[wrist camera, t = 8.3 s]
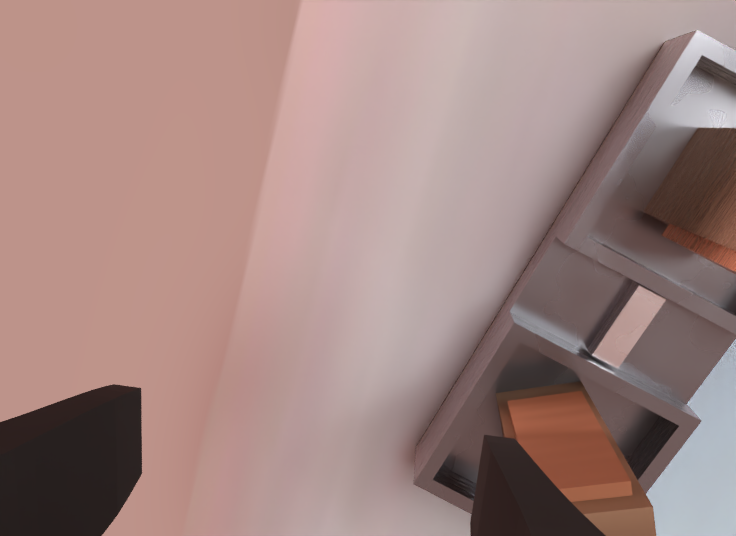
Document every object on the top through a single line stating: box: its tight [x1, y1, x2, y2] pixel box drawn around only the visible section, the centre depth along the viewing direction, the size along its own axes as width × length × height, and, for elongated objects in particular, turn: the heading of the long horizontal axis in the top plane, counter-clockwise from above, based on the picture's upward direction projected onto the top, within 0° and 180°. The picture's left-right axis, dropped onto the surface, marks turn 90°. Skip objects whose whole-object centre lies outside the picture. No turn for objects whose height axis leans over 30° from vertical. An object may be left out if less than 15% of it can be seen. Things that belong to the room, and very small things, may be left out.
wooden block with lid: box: [496, 381, 656, 536], centre depth 18 cm, size 3×3×7 cm
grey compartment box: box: [414, 30, 736, 514], centre depth 17 cm, size 7×17×8 cm, turn 153°
